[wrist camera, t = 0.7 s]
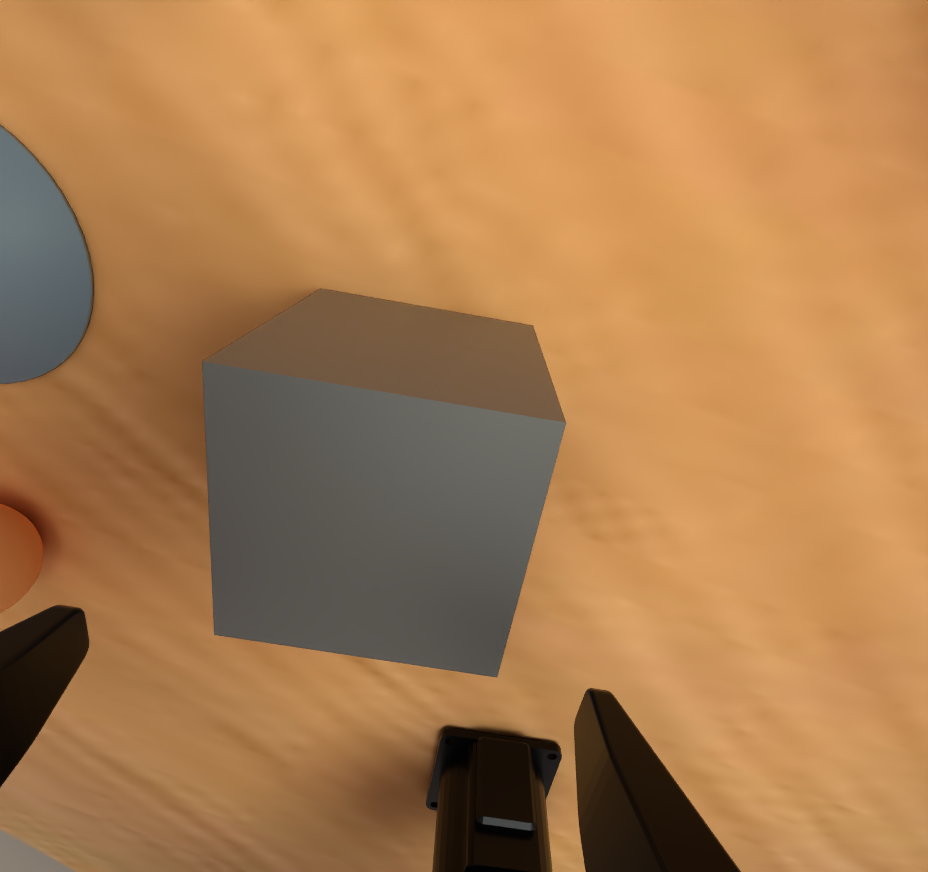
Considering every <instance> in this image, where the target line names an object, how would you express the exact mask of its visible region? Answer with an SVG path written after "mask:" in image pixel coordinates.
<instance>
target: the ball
mask: <svg viewBox="0 0 928 872" xmlns="http://www.w3.org/2000/svg"><path fill="white" fill-rule="evenodd" d="M42 562H43V545H42V541H41V537H40V535H39V533H38V531H37V530H36V528H35V527H34V525H33V524H32V523H31V522H30V521H29V520H28V519H27V518H26V517H25V516H24V515H22V514H21V513H19V512H18V511H16V510H14V509H12V508H10V507H8V506H5V505H3V504H0V613H1V612H3V611H5V610H6V609H8V608H10V607H11V606H12V605H14V604H15V603H16V602H18V601H19V600H20V599H21V598H22V597H23V596H24V595H25V594H26V593H27V592H28V590H29V589H30V588H31V586H32V585H33V584H34V582H35V581H36V579H37V577H38V575H39V572H40V570H41V566H42Z"/></svg>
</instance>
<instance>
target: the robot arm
mask: <svg viewBox="0 0 928 872" xmlns="http://www.w3.org/2000/svg"><path fill="white" fill-rule="evenodd" d="M88 648H89V636H88V630H87V624H86V618H85V613H84V611H83V610H82V609H81V608H78V607H71V606H65V605H56V606H53V607H50V608H48V609H46V610H44V611H42V612H40V613H38V614H36V615H34V616H32V617H30V618H28V619H26V620H24V621H21V622H19V623H17V624H15V625H13V626H11V627H9V628H7V629H5V630H3V631H1V632H0V787H1V786H2V784H3V783H4V782H5V780H6V779H7V778H8V776H9V775H10V774H11V772H12V771H13V770H14V768H15V767H16V765H17V764H18V763H19V761H20V760H21V759H22V757H23V756H24V754H25V753H26V752H27V750H28V749H29V747H30V746H31V745H32V743H33V742H34V740H35V738H36V737H37V735H38V734H39V732H40V731H41V729H42V727H43V726H44V724H45V722H46V721H47V719H48V717H49V716H50V714H51V713H52V711H53V709H54V708H55V706H56V704H57V703H58V701H59V699H60V698H61V696H62V694H63V693H64V691H65V689H66V688H67V686H68V684H69V683H70V681H71V679H72V678H73V676H74V674H75V673H76V671H77V670H78V668H79V666H80V665H81V663H82V661H83V660H84V658H85V656H86V654H87V651H88ZM574 740H575V761H576V781H577V801H578V817H579V828H580V836H581V844H582V850H583V857H584V864H585V870H586V872H741V871H740V870H739V868H738V867H737V866H736V864H735V863H734V861H733V860H732V859H731V857H730V856H729V855H728V853H727V852H726V850H725V849H724V848H723V846H722V845H721V843H720V842H719V841H718V839H717V838H716V837H715V835H714V834H713V832H712V831H711V830H710V828H709V827H708V825H707V824H706V823H705V821H704V820H703V818H702V817H701V816H700V814H699V813H698V812H697V810H696V809H695V807H694V806H693V805H692V803H691V802H690V800H689V799H688V798H687V796H686V795H685V794H684V792H683V791H682V789H681V788H680V787H679V785H678V784H677V782H676V781H675V780H674V778H673V777H672V776H671V774H670V773H669V771H668V770H667V769H666V767H665V766H664V764H663V763H662V762H661V760H660V759H659V758H658V756H657V755H656V753H655V752H654V751H653V749H652V748H651V746H650V745H649V744H648V742H647V741H646V740H645V738H644V737H643V735H642V734H641V733H640V731H639V730H638V728H637V727H636V726H635V724H634V723H633V722H632V720H631V719H630V717H629V716H628V715H627V713H626V712H625V710H624V709H623V708H622V706H621V705H620V703H619V702H618V701H617V699H616V698H615V697H614V695H613V694H612V693H611V692H609V691H606V690H600V689H594V688H589V689H588V690H587V691H586V692H585V694H584V697H583V700H582V702H581V705H580V707H579V710H578V713H577V715H576V718H575V724H574ZM561 757H562V755H561V748H560V746H558V745H557V744H554V743H547V742H540V741H534V740H527V739H520V738H513V737H506V736H499V735H493V734H486V733H479V732H472V731H465V730H459V729H452V728H447V729H444V730H443V731H442V732H441V734H440V739H439V743H438V748H437V752H436V757H435V762H434V766H433V771H432V775H431V780H430V784H429V789H428V793H427V799H426V806H427V807H428V808H429V809H431V810H436V811H437V819H436V832H435V844H434V857H433V870H432V872H552V863H551V852H550V842H549V832H548V821H547V811H546V801H545V800H546V798H547V795H548V792H549V790H550V787H551V785H552V782H553V779H554V777H555V774H556V771H557V769H558V766H559V763H560V761H561Z"/></svg>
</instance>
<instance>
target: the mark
mask: <svg viewBox="0 0 928 872" xmlns="http://www.w3.org/2000/svg"><path fill="white" fill-rule="evenodd" d="M93 296H94V285H93V272H92V266H91V261H90V256H89V252H88V248H87V245H86V242H85V239H84V236H83V233H82V230H81V228H80V226H79V223H78V221H77V219H76V217H75V214H74V212H73V211H72V209H71V207H70V205H69V203H68V201H67V200H66V198H65V196H64V194H63V193H62V191H61V190H60V188H59V187H58V185H57V184H56V183H55V181H54V180H53V178H52V177H51V175H50V174H49V173H48V171H47V170H46V169H45V168H44V167H43V165H42V164H41V163H40V162H39V161H38V160H37V158H36V157H35V156H34V155H33V154H32V153H31V152H30V151H29V150H28V149H27V148H26V147H25V146H24V145H23V144H22V143H21V142H20V141H19V140H18V139H17V138H16V137H15V136H14V135H12V134H11V133H10V132H9V131H7V130H6V129H5V128H4V127H3V126H1V125H0V384H7V383H15V382H22V381H26V380H29V379H32V378H35V377H39V376H41V375H43V374H45V373H47V372H49V371H51V370H53V369H55V368H56V367H57V366H59V365H60V364H61V363H63V362H64V361H65V360H67V358H68V357H69V356H70V355H71V354H72V353H73V352H74V351H75V350H76V348H77V347H78V345H79V343H80V342H81V340H82V339H83V337H84V334H85V332H86V330H87V327H88V325H89V321H90V317H91V313H92V308H93Z"/></svg>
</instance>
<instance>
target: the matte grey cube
mask: <svg viewBox="0 0 928 872" xmlns="http://www.w3.org/2000/svg"><path fill="white" fill-rule="evenodd" d="M202 367H203V389H204V412H205V435H206V458H207V481H208V504H209V526H210V549H211V572H212V595H213V618H214V635H219V636H225V637H232V638H239V639H245V640H252V641H259V642H265V643H272V644H278V645H285V646H292V647H298V648H305V649H312V650H318V651H325V652H332V653H338V654H345V655H351V656H358V657H365V658H371V659H378V660H385V661H391V662H398V663H404V664H411V665H418V666H424V667H431V668H438V669H444V670H451V671H458V672H464V673H471V674H477V675H484V676H491V677H497V676H498V672H499V669H500V665H501V661H502V658H503V654H504V650H505V647H506V643H507V639H508V635H509V632H510V628H511V624H512V621H513V617H514V613H515V610H516V606H517V602H518V598H519V595H520V591H521V587H522V584H523V580H524V576H525V573H526V569H527V565H528V562H529V558H530V554H531V550H532V547H533V543H534V539H535V536H536V532H537V528H538V525H539V521H540V517H541V513H542V510H543V506H544V502H545V499H546V495H547V491H548V488H549V484H550V480H551V477H552V473H553V469H554V465H555V462H556V458H557V454H558V451H559V447H560V443H561V440H562V436H563V432H564V429H565V425H566V421H565V418H564V415H563V412H562V409H561V406H560V403H559V401H558V398H557V395H556V392H555V389H554V386H553V383H552V380H551V377H550V374H549V371H548V368H547V365H546V362H545V359H544V356H543V353H542V351H541V348H540V345H539V342H538V339H537V336H536V333H535V330H534V327H533V326H532V325H526V324H520V323H514V322H509V321H503V320H497V319H492V318H486V317H480V316H474V315H469V314H463V313H457V312H452V311H446V310H440V309H435V308H429V307H423V306H417V305H412V304H406V303H400V302H395V301H389V300H383V299H377V298H372V297H366V296H360V295H355V294H349V293H343V292H337V291H332V290H326V289H320V290H318V291H316V292H315V293H313V294H311V295H310V296H308V297H306V298H305V299H303V300H302V301H300V302H298V303H297V304H295V305H293V306H292V307H290V308H289V309H287V310H285V311H284V312H282V313H280V314H279V315H277V316H275V317H274V318H272V319H271V320H269V321H267V322H266V323H264V324H262V325H261V326H259V327H257V328H256V329H254V330H253V331H251V332H249V333H248V334H246V335H244V336H243V337H241V338H240V339H238V340H236V341H235V342H233V343H231V344H230V345H228V346H226V347H225V348H223V349H222V350H220V351H218V352H217V353H215V354H213V355H212V356H210V357H209V358H207V359H205V360H204V361H202Z"/></svg>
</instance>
